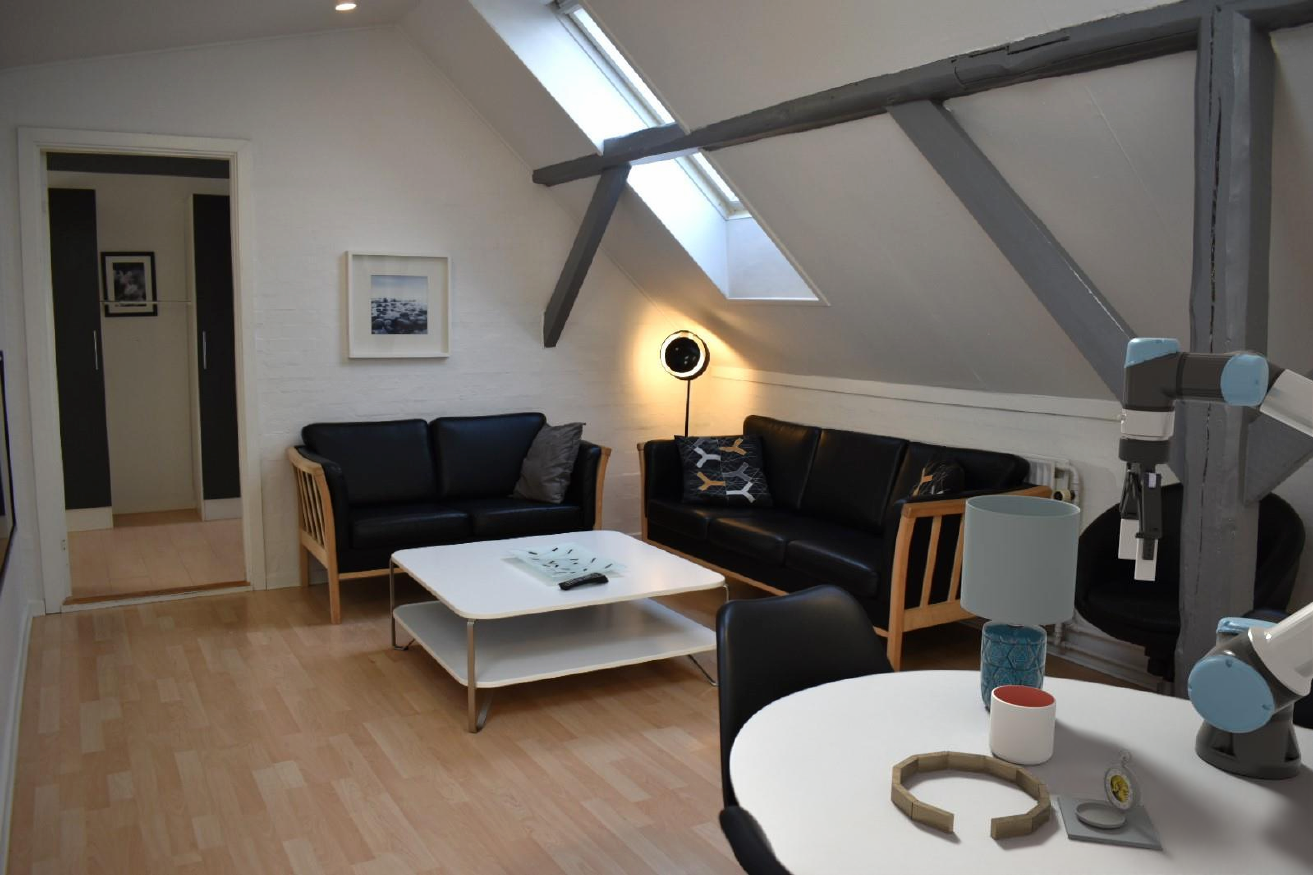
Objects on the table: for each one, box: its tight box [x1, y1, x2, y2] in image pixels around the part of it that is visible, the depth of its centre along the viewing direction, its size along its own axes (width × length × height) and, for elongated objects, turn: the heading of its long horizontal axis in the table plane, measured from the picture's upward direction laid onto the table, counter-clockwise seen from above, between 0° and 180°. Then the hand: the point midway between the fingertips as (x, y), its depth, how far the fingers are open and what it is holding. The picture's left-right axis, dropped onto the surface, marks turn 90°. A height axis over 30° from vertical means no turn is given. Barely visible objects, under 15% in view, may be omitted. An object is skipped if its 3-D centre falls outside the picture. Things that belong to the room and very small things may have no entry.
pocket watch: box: [1075, 748, 1142, 828], centre depth 151 cm, size 8×8×10 cm
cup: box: [988, 685, 1057, 766], centre depth 174 cm, size 10×10×10 cm
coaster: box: [1056, 794, 1163, 851], centre depth 152 cm, size 12×12×1 cm
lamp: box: [960, 494, 1081, 710], centre depth 191 cm, size 19×19×38 cm
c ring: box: [890, 750, 1052, 840], centre depth 158 cm, size 22×22×2 cm
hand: (1135, 568), depth 170 cm, fingers open, 13 cm apart
